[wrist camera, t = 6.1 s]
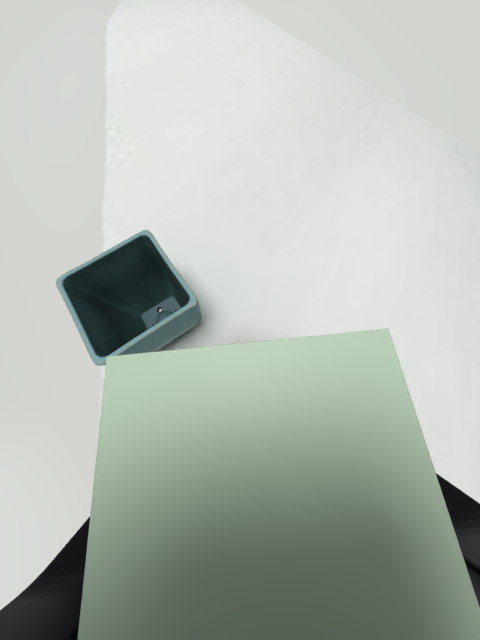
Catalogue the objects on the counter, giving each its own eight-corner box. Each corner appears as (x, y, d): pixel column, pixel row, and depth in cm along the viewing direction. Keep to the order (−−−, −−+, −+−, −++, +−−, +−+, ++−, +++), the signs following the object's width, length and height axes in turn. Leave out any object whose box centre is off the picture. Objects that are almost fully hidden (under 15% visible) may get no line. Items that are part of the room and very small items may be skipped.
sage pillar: (286, 433, 14) (542, 803, 2) (220, 440, 14) (56, 847, 2) (276, 366, 16) (388, 328, 3) (216, 372, 16) (106, 356, 3)
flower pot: (118, 312, 24) (51, 278, 16) (178, 276, 26) (146, 226, 17) (151, 371, 22) (94, 368, 14) (214, 328, 24) (199, 301, 15)
